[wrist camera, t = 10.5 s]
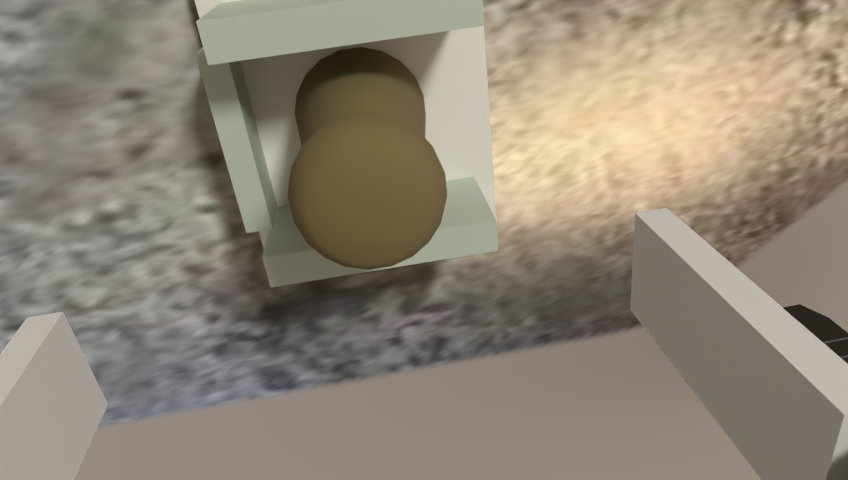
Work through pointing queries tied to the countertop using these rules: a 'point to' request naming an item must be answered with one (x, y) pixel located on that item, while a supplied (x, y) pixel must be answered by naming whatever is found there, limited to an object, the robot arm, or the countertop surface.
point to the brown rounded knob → (364, 162)
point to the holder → (276, 98)
